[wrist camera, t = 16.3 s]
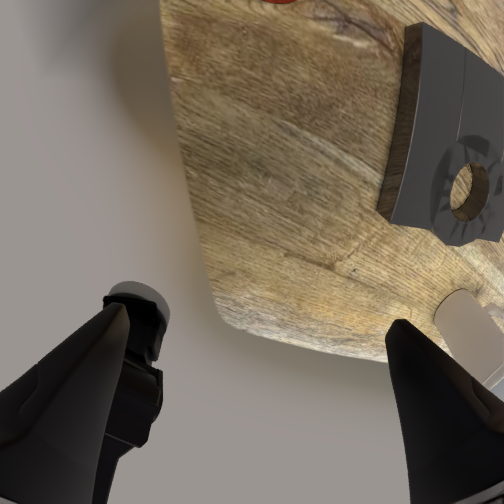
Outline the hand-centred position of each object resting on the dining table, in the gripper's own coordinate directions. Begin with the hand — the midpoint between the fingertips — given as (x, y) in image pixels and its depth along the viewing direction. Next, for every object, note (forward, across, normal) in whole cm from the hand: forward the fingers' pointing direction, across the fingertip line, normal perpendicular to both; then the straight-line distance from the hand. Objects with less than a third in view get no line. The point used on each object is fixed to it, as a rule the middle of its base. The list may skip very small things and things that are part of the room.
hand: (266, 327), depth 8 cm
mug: (+13, -28, +11) cm, 33 cm away
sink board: (+13, -18, -7) cm, 23 cm away
